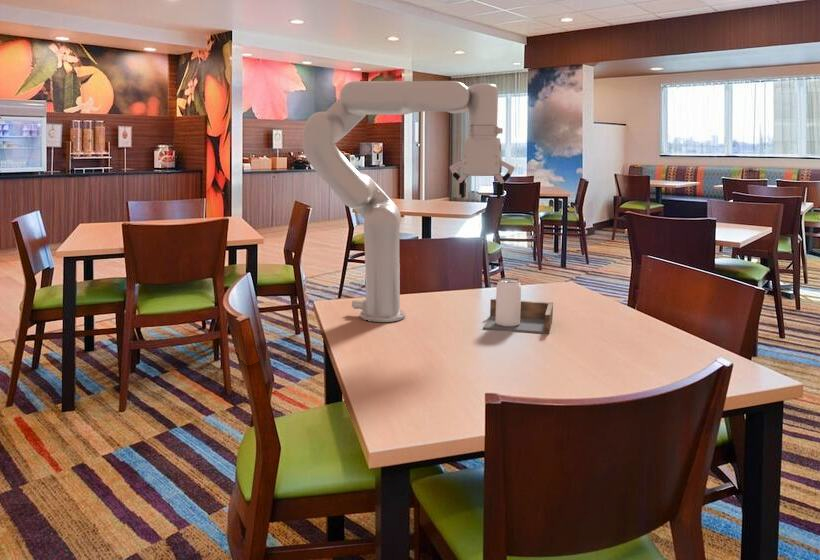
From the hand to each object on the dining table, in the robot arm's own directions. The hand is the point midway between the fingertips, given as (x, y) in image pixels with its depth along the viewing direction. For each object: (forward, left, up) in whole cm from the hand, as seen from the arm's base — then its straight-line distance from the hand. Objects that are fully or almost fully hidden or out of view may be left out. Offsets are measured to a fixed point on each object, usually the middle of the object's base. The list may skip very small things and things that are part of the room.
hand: (481, 197), depth 179 cm
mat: (+12, -4, -33) cm, 35 cm away
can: (+9, -6, -33) cm, 35 cm away
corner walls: (+12, -4, -33) cm, 35 cm away
